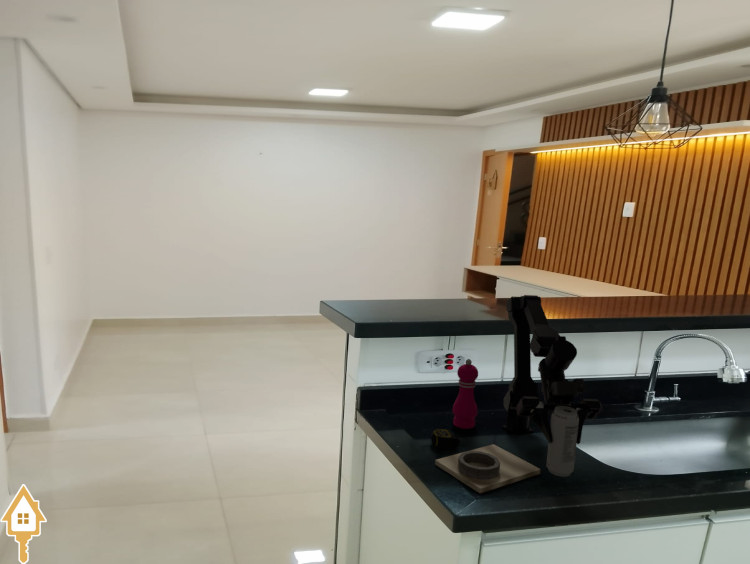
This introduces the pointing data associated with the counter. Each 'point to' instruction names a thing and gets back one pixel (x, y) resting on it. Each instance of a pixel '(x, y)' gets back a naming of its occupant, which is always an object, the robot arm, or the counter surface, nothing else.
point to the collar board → (506, 469)
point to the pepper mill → (466, 397)
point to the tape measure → (444, 439)
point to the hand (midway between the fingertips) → (564, 442)
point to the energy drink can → (562, 441)
